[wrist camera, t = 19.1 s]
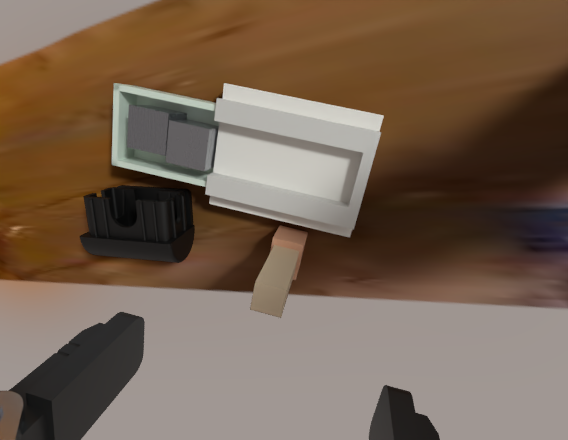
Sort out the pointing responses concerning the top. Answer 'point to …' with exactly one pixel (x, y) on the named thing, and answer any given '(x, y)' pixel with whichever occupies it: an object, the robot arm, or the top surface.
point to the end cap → (140, 223)
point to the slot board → (292, 158)
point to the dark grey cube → (150, 127)
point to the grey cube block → (191, 144)
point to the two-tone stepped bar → (279, 271)
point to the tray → (148, 160)
